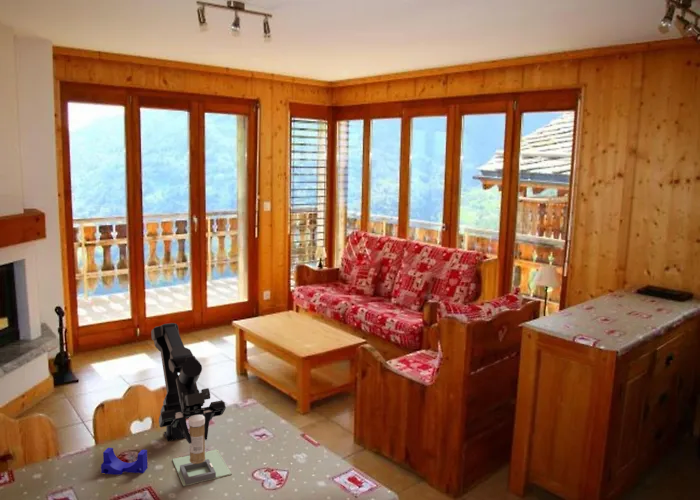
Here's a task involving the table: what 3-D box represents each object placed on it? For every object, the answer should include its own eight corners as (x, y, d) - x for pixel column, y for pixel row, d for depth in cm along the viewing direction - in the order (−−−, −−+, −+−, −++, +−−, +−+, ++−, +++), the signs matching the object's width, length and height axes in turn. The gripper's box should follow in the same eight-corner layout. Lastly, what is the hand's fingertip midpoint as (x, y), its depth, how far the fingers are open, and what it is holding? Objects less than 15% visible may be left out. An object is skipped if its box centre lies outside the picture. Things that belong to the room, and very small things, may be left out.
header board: (172, 460, 173) (172, 453, 172) (217, 450, 179) (217, 443, 179) (183, 486, 158) (183, 479, 158) (231, 475, 165) (231, 467, 165)
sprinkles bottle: (207, 456, 166) (206, 414, 164) (202, 464, 162) (202, 421, 160) (192, 456, 166) (191, 413, 164) (187, 464, 162) (186, 420, 160)
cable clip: (101, 474, 164) (100, 455, 163) (108, 466, 169) (108, 447, 168) (141, 476, 163) (140, 457, 163) (147, 468, 168) (147, 449, 167)
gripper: (159, 385, 159) (169, 438, 151) (223, 374, 169) (235, 424, 161) (154, 401, 167) (163, 452, 159) (216, 390, 176) (227, 438, 169)
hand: (198, 441), depth 162 cm, fingers closed on sprinkles bottle, 4 cm apart
